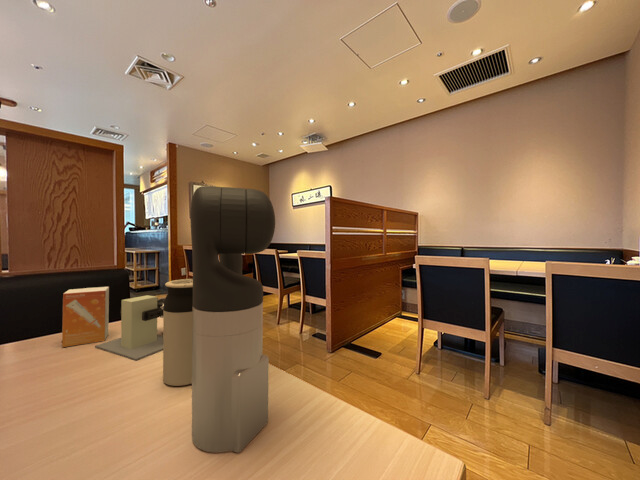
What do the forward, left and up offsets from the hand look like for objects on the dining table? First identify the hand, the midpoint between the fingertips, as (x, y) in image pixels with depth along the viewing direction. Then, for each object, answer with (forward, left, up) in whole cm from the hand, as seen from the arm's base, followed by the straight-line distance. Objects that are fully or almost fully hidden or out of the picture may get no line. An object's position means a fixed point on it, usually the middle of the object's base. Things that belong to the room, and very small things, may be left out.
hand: (131, 314), depth 62 cm
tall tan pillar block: (0, -2, -8) cm, 8 cm away
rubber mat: (0, -2, -8) cm, 8 cm away
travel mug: (-23, +3, -8) cm, 25 cm away
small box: (+15, +2, -8) cm, 17 cm away
